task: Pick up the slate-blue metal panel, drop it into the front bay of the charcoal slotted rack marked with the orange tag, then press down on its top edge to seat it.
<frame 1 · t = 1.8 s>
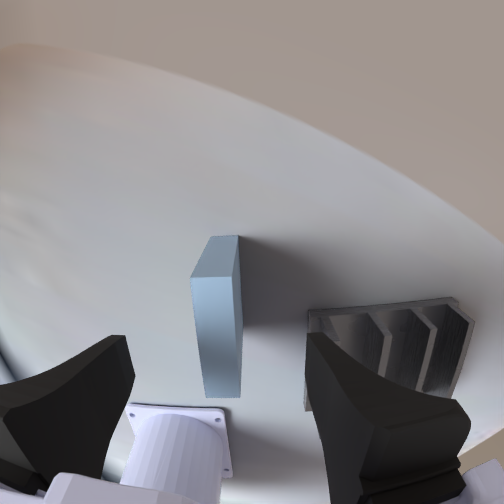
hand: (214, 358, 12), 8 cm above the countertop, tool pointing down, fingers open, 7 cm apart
panel: (227, 284, 20), on the countertop
rack: (379, 353, 21), on the countertop
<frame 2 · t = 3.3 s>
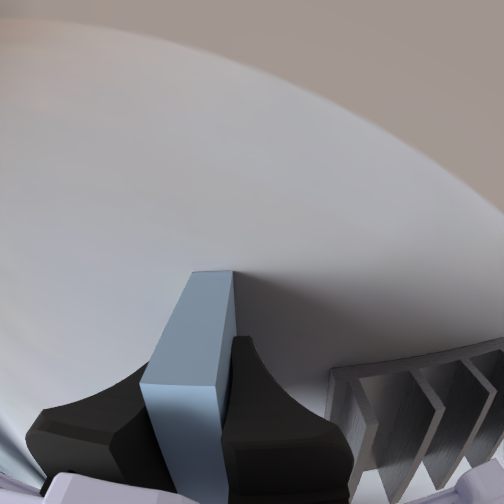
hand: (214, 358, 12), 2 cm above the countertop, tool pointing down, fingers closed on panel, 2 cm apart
panel: (218, 337, 14), on the countertop, touching gripper
rack: (414, 410, 15), on the countertop
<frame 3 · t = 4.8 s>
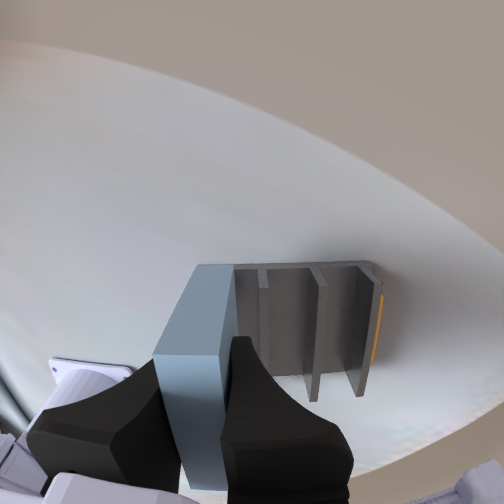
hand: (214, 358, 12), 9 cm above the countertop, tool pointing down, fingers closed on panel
panel: (220, 326, 15), point 6 cm above the countertop, touching gripper
rack: (285, 319, 21), on the countertop
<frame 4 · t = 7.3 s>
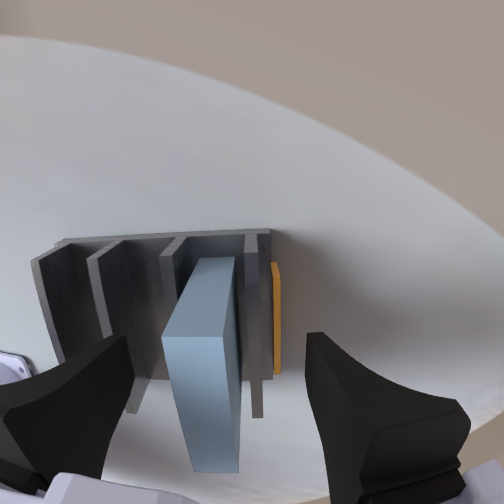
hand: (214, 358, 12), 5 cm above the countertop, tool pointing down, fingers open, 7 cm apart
panel: (222, 316, 15), point 1 cm above the countertop, touching rack
rack: (165, 308, 16), on the countertop
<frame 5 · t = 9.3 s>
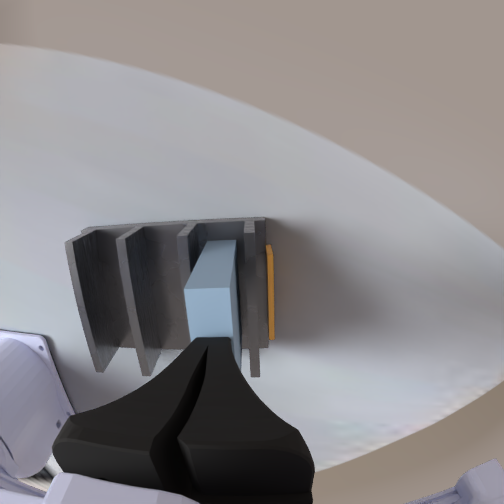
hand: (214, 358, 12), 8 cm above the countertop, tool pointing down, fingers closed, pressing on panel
panel: (225, 290, 19), point 1 cm above the countertop, touching gripper, rack
rack: (176, 285, 20), on the countertop
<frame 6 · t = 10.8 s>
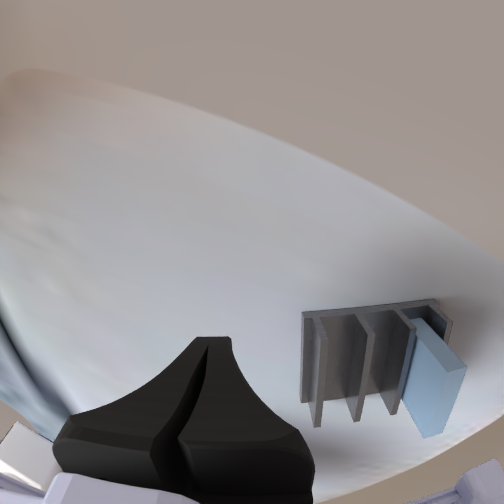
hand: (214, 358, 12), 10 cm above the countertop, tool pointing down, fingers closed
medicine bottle: (40, 446, 29), on the countertop
panel: (406, 351, 23), point 1 cm above the countertop, touching rack
rack: (368, 350, 24), on the countertop
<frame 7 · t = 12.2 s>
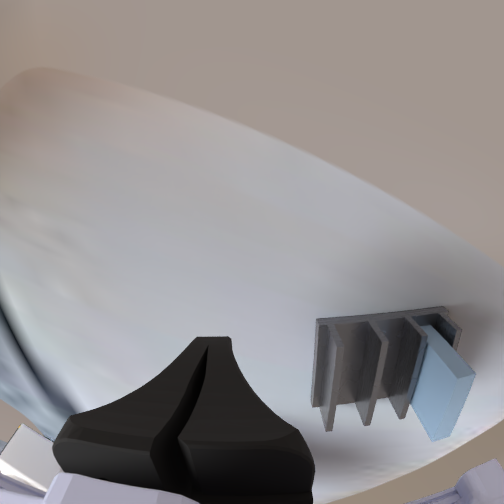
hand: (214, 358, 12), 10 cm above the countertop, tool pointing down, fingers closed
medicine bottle: (45, 448, 29), on the countertop
panel: (415, 357, 23), point 1 cm above the countertop, touching rack
rack: (378, 356, 24), on the countertop
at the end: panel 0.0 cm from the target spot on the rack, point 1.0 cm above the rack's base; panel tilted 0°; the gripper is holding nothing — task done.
